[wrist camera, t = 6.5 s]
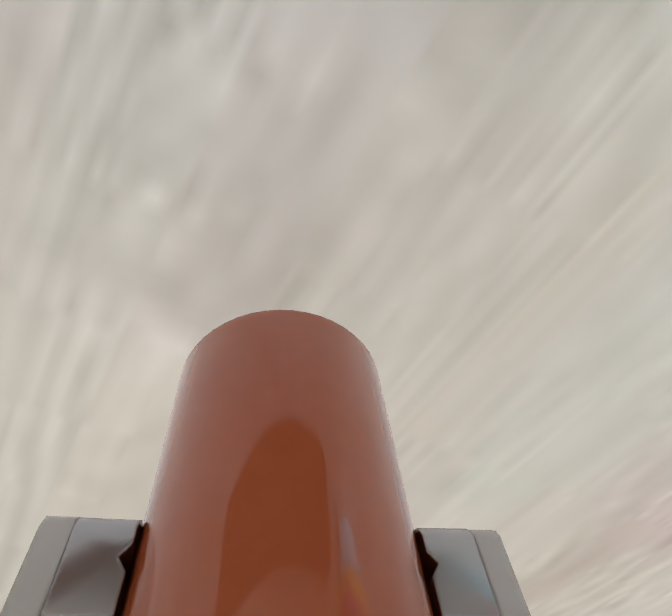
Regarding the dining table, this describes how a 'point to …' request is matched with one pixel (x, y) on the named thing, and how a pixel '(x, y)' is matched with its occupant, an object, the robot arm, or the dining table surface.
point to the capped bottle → (278, 483)
